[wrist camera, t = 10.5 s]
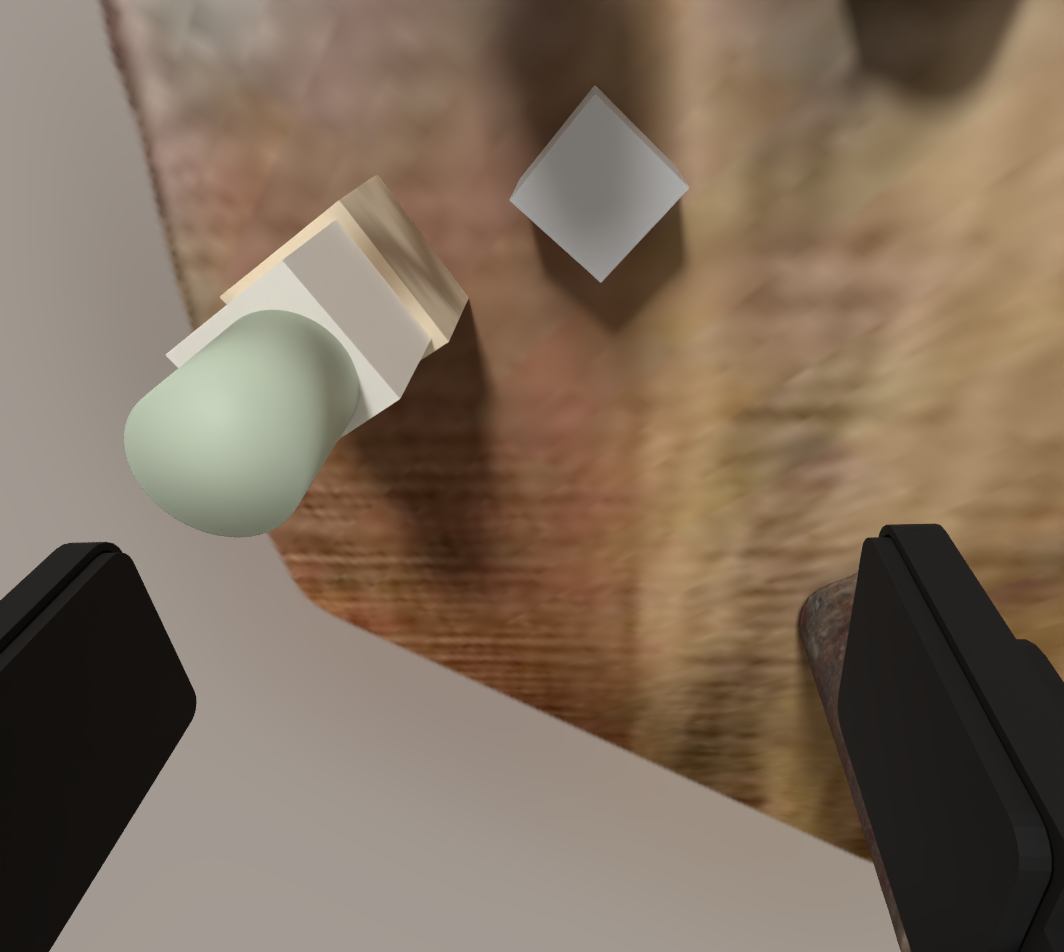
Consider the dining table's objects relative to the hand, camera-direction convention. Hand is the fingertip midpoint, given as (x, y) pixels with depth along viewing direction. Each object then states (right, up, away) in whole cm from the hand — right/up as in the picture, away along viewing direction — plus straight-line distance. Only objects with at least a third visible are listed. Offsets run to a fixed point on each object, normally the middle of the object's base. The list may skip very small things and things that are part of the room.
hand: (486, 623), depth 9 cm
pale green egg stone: (-8, +5, +17) cm, 20 cm away
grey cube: (+4, +16, +24) cm, 29 cm away
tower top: (-8, +9, +22) cm, 25 cm away
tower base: (-7, +12, +27) cm, 30 cm away
